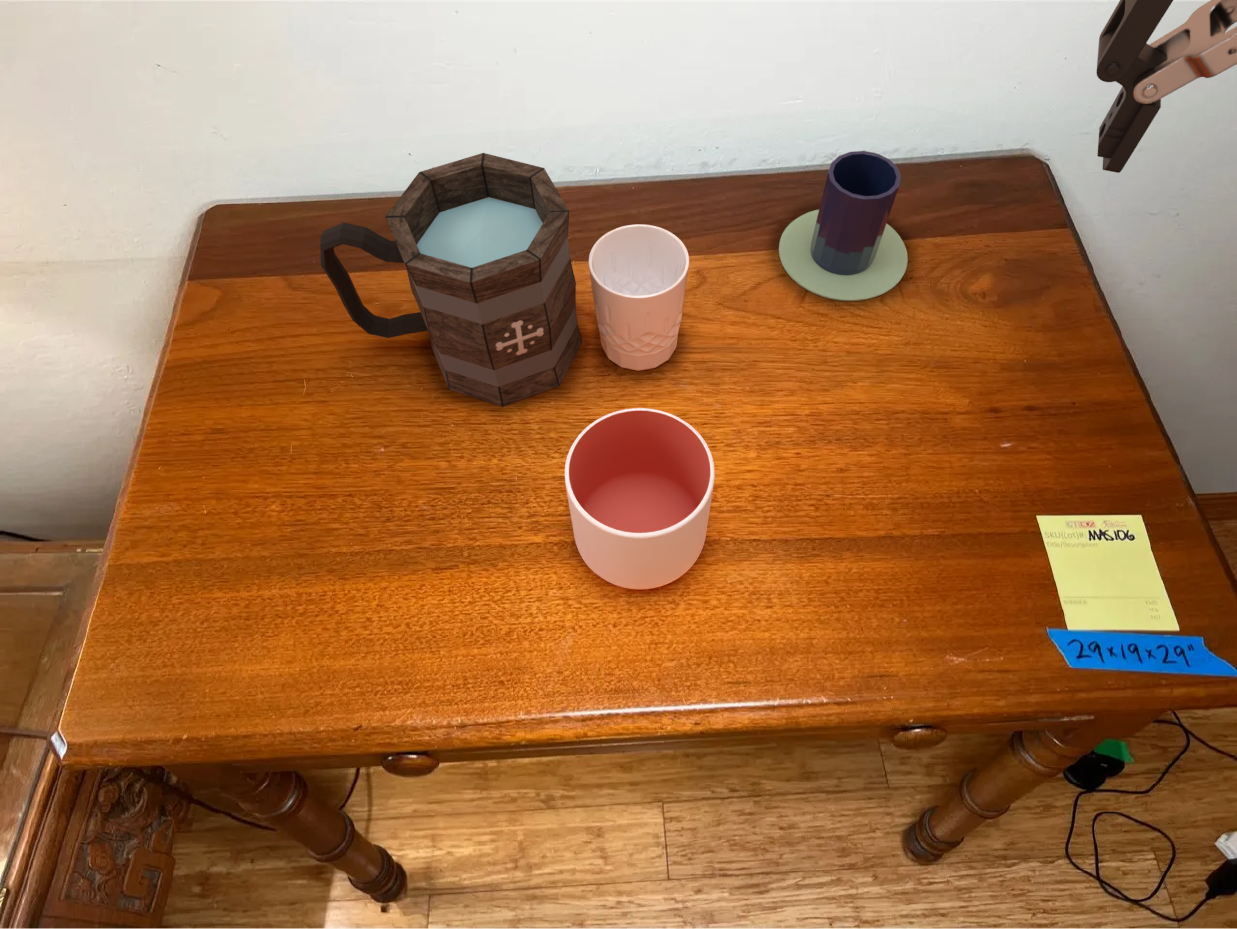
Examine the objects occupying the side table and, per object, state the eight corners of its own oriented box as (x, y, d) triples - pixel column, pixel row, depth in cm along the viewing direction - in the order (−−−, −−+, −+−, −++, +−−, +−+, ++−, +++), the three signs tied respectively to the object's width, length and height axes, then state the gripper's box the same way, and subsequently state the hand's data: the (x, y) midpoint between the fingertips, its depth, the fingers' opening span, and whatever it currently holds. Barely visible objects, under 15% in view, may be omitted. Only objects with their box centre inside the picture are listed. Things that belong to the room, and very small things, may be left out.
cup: (729, 518, 63) (742, 450, 54) (659, 620, 59) (662, 565, 50) (622, 457, 66) (619, 384, 58) (549, 550, 62) (534, 487, 53)
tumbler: (879, 237, 78) (905, 158, 70) (868, 281, 75) (894, 205, 67) (817, 223, 79) (836, 145, 71) (804, 267, 76) (822, 190, 68)
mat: (916, 223, 79) (916, 222, 79) (895, 314, 73) (896, 312, 73) (794, 198, 81) (794, 196, 81) (765, 284, 75) (765, 282, 75)
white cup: (597, 306, 74) (591, 223, 66) (683, 308, 74) (688, 224, 65) (592, 376, 70) (585, 296, 62) (683, 377, 70) (689, 298, 61)
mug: (582, 285, 76) (570, 149, 63) (582, 404, 69) (568, 279, 56) (373, 291, 76) (318, 158, 63) (351, 411, 69) (285, 288, 56)
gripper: (1279, -241, 24) (1041, 201, 37) (1888, -181, 21) (1388, 270, 35) (1266, -332, 27) (1053, 102, 41) (1784, -292, 24) (1368, 158, 38)
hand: (1207, 179), depth 38 cm, fingers open, 8 cm apart
